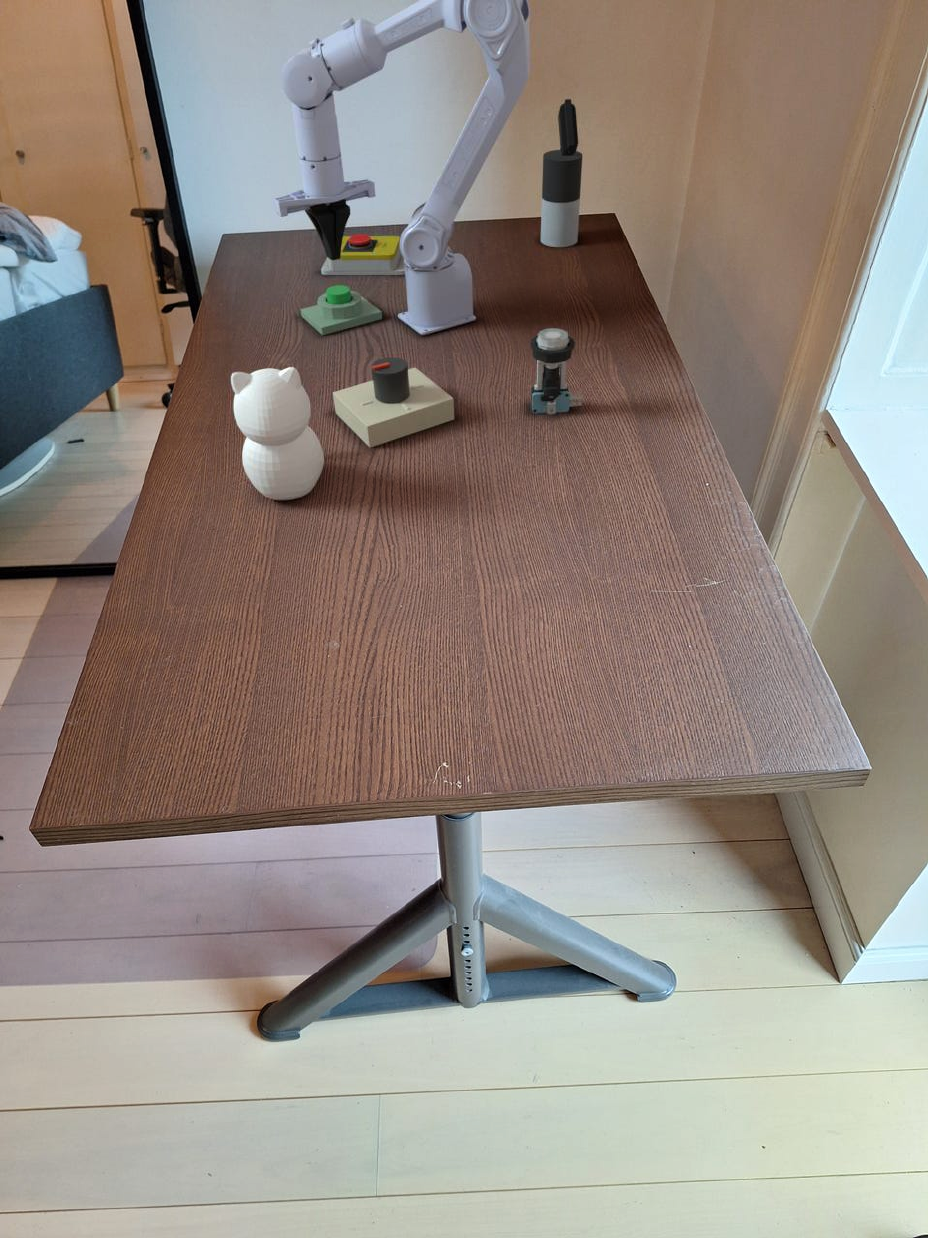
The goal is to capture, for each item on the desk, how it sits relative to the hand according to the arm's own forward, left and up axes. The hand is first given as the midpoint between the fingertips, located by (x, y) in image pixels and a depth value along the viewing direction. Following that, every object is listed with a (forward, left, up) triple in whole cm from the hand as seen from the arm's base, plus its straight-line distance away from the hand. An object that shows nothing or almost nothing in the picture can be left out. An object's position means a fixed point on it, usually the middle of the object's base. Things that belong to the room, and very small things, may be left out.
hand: (333, 257), depth 125 cm
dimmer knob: (+7, +31, -6) cm, 32 cm away
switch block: (0, 0, -9) cm, 9 cm away
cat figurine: (+24, +37, -9) cm, 45 cm away
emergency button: (-13, -17, -9) cm, 23 cm away
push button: (-11, +41, -9) cm, 43 cm away
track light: (-45, -5, -9) cm, 46 cm away
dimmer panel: (+7, +31, -9) cm, 33 cm away
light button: (0, 0, -6) cm, 6 cm away
